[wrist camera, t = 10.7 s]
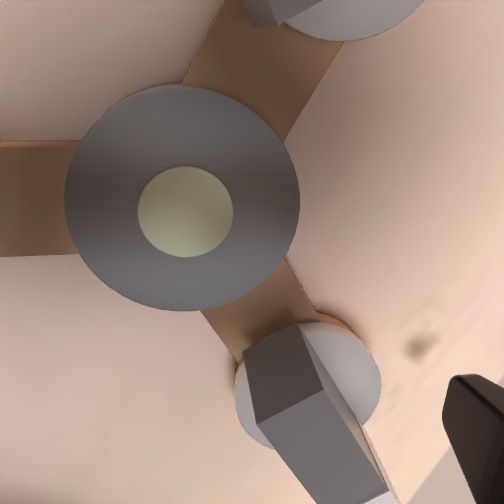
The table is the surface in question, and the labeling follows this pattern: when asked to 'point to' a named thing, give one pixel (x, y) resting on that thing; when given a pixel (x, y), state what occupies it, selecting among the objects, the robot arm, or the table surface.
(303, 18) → the knob
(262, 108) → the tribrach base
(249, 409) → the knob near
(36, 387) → the table surface
